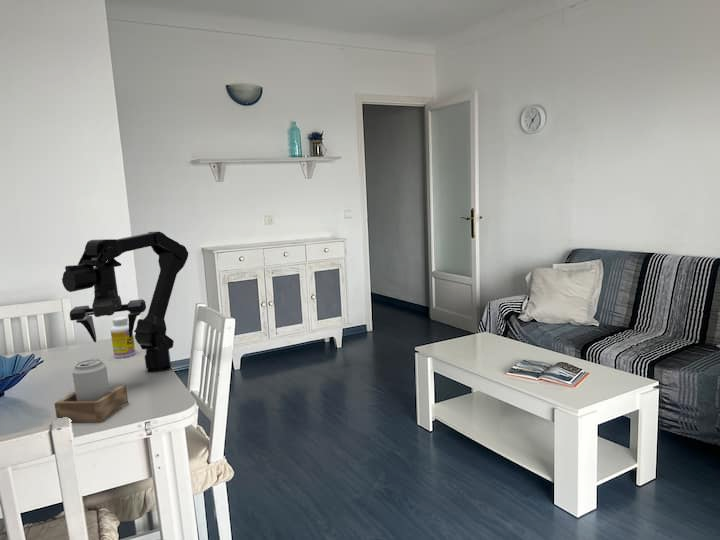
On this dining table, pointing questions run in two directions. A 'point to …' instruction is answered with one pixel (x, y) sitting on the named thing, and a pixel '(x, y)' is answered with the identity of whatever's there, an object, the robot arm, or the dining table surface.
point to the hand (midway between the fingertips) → (113, 339)
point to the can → (90, 380)
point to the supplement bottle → (122, 338)
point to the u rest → (91, 406)
